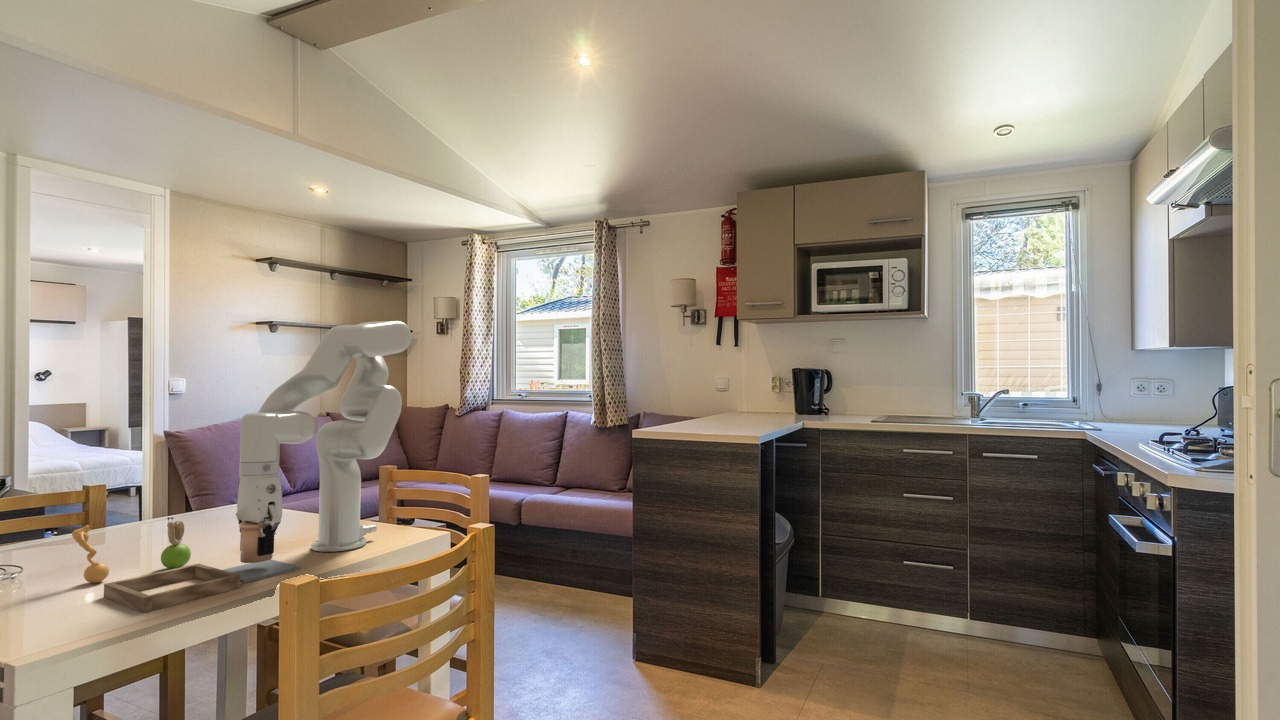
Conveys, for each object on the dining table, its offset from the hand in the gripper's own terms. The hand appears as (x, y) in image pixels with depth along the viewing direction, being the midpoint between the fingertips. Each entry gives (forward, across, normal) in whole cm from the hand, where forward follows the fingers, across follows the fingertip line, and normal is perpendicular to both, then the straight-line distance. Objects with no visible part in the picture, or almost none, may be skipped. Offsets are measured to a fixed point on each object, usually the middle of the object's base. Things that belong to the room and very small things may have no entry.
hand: (256, 551), depth 139 cm
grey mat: (+4, 0, 0) cm, 4 cm away
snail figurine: (+5, +18, +8) cm, 20 cm away
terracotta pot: (+2, 0, 0) cm, 2 cm away
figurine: (+5, +21, +22) cm, 31 cm away
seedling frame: (+4, 0, +16) cm, 16 cm away
